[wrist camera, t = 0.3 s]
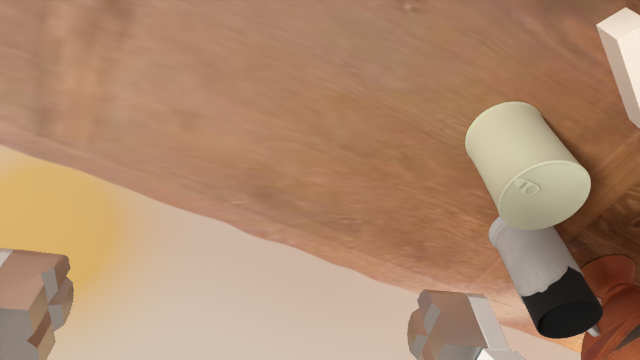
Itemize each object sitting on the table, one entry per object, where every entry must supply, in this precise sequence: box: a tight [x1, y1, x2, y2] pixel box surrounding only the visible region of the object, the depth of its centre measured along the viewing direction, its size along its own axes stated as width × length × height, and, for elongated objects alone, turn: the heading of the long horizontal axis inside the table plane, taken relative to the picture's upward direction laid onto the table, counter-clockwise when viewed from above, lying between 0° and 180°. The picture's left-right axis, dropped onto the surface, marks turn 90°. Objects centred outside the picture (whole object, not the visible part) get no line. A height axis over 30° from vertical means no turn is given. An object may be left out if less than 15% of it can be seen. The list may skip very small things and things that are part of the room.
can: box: [465, 101, 591, 230], centre depth 52 cm, size 9×9×12 cm
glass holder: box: [489, 216, 603, 339], centre depth 62 cm, size 9×14×15 cm, turn 47°
